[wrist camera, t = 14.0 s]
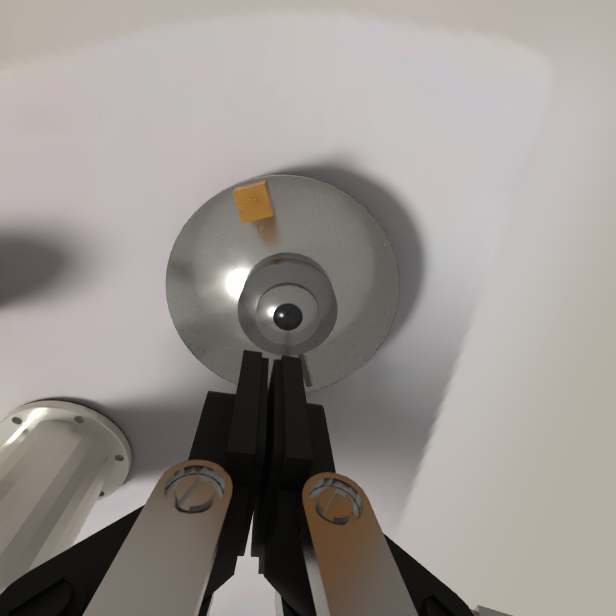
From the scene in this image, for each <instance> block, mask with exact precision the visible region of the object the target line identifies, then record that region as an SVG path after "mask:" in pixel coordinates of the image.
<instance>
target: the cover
mask: <svg viewBox="0 0 616 616" xmlns="http://www.w3.org/2000/svg"><path fill="white" fill-rule="evenodd" d="M237 313H238V319H239V323H240V326H241V328H242V330H243V332H244V333H245V335H246V336H247V337H248V339H249V340H250V341H251V342H252V343H253V344H255V345H256V346H257V347H259V348H261V349H262V350H264V351H267V352H269V353H272V354H276V355H284V356H292V355H299V354H303V353H306V352H308V351H311V350H313V349H314V348H316V347H318V346H319V345H320V344H322V343H323V342H324V341H325V340H326V339H327V337H328V336H329V335H330V333H331V332H332V330H333V328H334V326H335V323H336V320H337V313H338V306H337V300H336V297H335V293H334V290H333V287H332V284H331V281H330V279H329V277H328V275H327V273H326V272H325V270H324V269H323V268H322V267H321V266H320V265H319V264H318V263H317V262H316V261H314V260H313V259H311V258H309V257H307V256H304V255H301V254H297V253H289V252H286V253H278V254H274V255H271V256H268V257H266V258H264V259H263V260H261V261H259V262H258V263H257V264H256V265H255V266H254V267H253V268H252V269H251V270H250V272H249V273H248V275H247V277H246V279H245V282H244V285H243V288H242V291H241V294H240V297H239V300H238V307H237Z"/></svg>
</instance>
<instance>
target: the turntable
mask: <svg viewBox="0 0 616 616" xmlns="http://www.w3.org/2000/svg"><path fill="white" fill-rule="evenodd" d="M286 252H289V253H297V254H301V255H304V256H307V257H309V258H311V259H313V260H314V261H316V262H317V263H318V264H319V265H320V266H321V267H322V268H323V269H324V270H325V272H326V273H327V275H328V277H329V279H330V281H331V284H332V287H333V290H334V293H335V297H336V300H337V306H338V313H337V320H336V323H335V326H334V328H333V330H332V332H331V333H330V335H329V336H328V337H327V339H326V340H325V341H324V342H323V343H322V344H320V345H319V346H318V347H316V348H314V349H313V350H311V351H308V352H306V353H303V354H299V355H292V356H291V357H298V358H301V363H302V371H303V379H304V387H305V392H306V391H312V390H315V389H319V388H322V387H325V386H328V385H330V384H333V383H335V382H337V381H339V380H341V379H343V378H345V377H346V376H348V375H350V374H351V373H352V372H354V371H355V370H357V369H358V368H359V367H361V366H362V365H363V364H364V363H365V362H366V361H367V360H368V359H369V358H370V357H371V356H372V355H373V354H374V353H375V352H376V350H377V349H378V348H379V346H380V345H381V343H382V342H383V341H384V339H385V337H386V336H387V334H388V332H389V330H390V328H391V326H392V323H393V320H394V317H395V314H396V310H397V306H398V301H399V289H400V282H399V270H398V266H397V261H396V257H395V254H394V251H393V248H392V246H391V243H390V241H389V239H388V238H387V236H386V234H385V232H384V230H383V229H382V227H381V226H380V225H379V223H378V222H377V221H376V219H375V218H374V217H373V216H372V215H371V214H370V213H369V212H368V211H367V210H366V209H365V208H364V207H363V206H362V205H361V204H360V203H359V202H357V201H356V200H355V199H353V198H352V197H351V196H349V195H348V194H347V193H345V192H343V191H341V190H340V189H338V188H336V187H334V186H332V185H330V184H327V183H325V182H322V181H320V180H316V179H312V178H308V177H304V176H297V175H287V174H284V175H267V176H261V177H256V178H252V179H249V180H245V181H242V182H239V183H237V184H235V185H233V186H231V187H229V188H227V189H225V190H223V191H221V192H220V193H218V194H217V195H216V196H214V197H213V198H211V199H210V200H208V201H207V202H206V203H205V204H204V205H202V206H201V207H200V208H199V209H198V210H197V211H196V212H195V213H194V214H193V215H192V217H191V218H190V219H189V220H188V221H187V223H186V224H185V225H184V227H183V228H182V230H181V232H180V234H179V235H178V237H177V239H176V241H175V243H174V246H173V248H172V251H171V253H170V257H169V262H168V266H167V273H166V297H167V302H168V307H169V312H170V315H171V318H172V320H173V323H174V326H175V328H176V330H177V332H178V334H179V335H180V337H181V339H182V340H183V342H184V343H185V345H186V346H187V348H188V349H189V350H190V351H191V352H192V353H193V355H194V356H195V357H196V358H197V359H198V360H199V361H200V362H201V363H203V364H204V365H205V366H206V367H207V368H208V369H210V370H211V371H213V372H214V373H216V374H217V375H218V376H220V377H222V378H224V379H226V380H228V381H230V382H231V383H234V384H237V385H238V381H239V375H240V369H241V363H242V357H243V351H244V350H250V351H257V352H262V357H264V358H269V368H268V387H269V382H270V377H271V372H272V367H273V362H274V359H278V360H281V357H282V355H276V354H272V353H269V352H267V351H264V350H262V349H261V348H259V347H257V346H256V345H255V344H253V343H252V342H251V341H250V340H249V339H248V337H247V336H246V335H245V333H244V332H243V330H242V328H241V326H240V323H239V319H238V313H237V307H238V300H239V297H240V294H241V291H242V288H243V285H244V282H245V279H246V277H247V275H248V273H249V272H250V270H251V269H252V268H253V267H254V266H255V265H256V264H257V263H258V262H259V261H261V260H263V259H264V258H266V257H268V256H271V255H274V254H278V253H286Z"/></svg>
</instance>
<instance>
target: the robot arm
mask: <svg viewBox="0 0 616 616" xmlns="http://www.w3.org/2000/svg"><path fill="white" fill-rule="evenodd" d="M268 368H269V358H264V357H262V352H257V351H250V350H244V351H243V357H242V363H241V369H240V375H239V381H238V387H237V393H236V394H229V393H221V392H213V391H208V394H207V397H206V400H205V404H204V407H203V411H202V414H201V418H200V421H199V425H198V428H197V431H196V435H195V438H194V442H193V445H192V449H191V452H190V456H189V459H188V461H184V462H182V463H179V464H176V465H174V466H173V467H171V468H170V469H169V470H167V471H166V472H165V473H164V474H163V475H162V477H161V478H160V479H159V481H158V483H157V484H156V486H155V488H154V490H153V491H152V493H151V495H150V497H149V498H148V500H147V502H146V504H145V505H144V506H142V507H140V508H138V509H137V510H135V511H133V512H131V513H130V514H128V515H126V516H124V517H123V518H121V519H119V520H117V521H116V522H114V523H112V524H110V525H109V526H107V527H105V528H104V529H102V530H100V531H98V532H97V533H95V534H93V535H91V536H90V537H88V538H86V539H84V540H83V541H81V542H79V543H77V544H76V545H74V546H72V545H73V543H74V541H75V539H76V537H77V536H78V534H79V532H80V530H81V528H82V526H83V524H84V522H85V521H86V519H87V517H88V515H89V513H90V511H91V509H92V507H93V506H94V504H95V502H96V501H97V500H100V499H103V498H105V497H107V496H109V495H111V494H112V493H114V492H115V491H116V490H117V489H118V488H120V486H121V485H122V484H123V482H124V481H125V479H126V477H127V475H128V473H129V471H130V467H131V463H132V453H131V449H130V446H129V443H128V441H127V440H126V438H125V436H124V434H123V433H122V432H121V431H120V430H119V428H118V427H117V426H116V425H115V424H113V423H112V422H111V421H110V420H109V419H108V418H106V417H104V416H103V415H101V414H99V413H98V412H96V411H94V410H92V409H89V408H87V407H85V406H81V405H78V404H74V403H71V402H64V401H38V402H33V403H29V404H26V405H23V406H20V407H18V408H17V409H15V410H13V411H12V412H10V413H9V414H8V415H7V416H6V417H5V418H4V419H3V420H2V421H1V422H0V616H209V612H210V609H211V605H212V601H213V596H214V592H215V591H216V590H217V589H218V588H219V587H220V586H221V585H223V584H224V583H225V582H226V581H227V580H228V579H229V578H230V577H232V576H233V575H234V571H235V566H236V562H237V557H238V556H244V553H245V548H246V544H247V539H248V534H249V530H250V525H251V520H252V516H253V527H252V543H251V557H259V572H258V574H264V577H265V578H266V579H267V580H268V581H269V583H270V584H271V585H272V586H273V587H274V588H275V589H276V590H275V609H276V616H512V615H508V614H505V613H502V612H499V611H495V610H492V609H489V608H486V607H482V606H479V605H477V607H476V609H475V610H472V609H469V607H468V606H467V605H466V603H465V602H464V601H463V600H462V599H461V598H460V597H458V595H457V594H456V593H454V592H453V591H452V590H451V589H450V588H448V587H447V586H446V585H445V584H444V583H442V582H441V581H440V580H439V579H437V578H436V577H435V576H434V575H432V574H431V573H430V572H429V571H428V570H427V569H426V568H424V567H423V566H422V565H421V564H420V563H418V562H417V561H416V560H415V559H414V558H412V557H411V556H410V555H409V554H408V553H406V552H405V551H404V550H403V549H402V548H400V547H399V546H398V545H397V544H396V543H394V542H393V541H392V540H391V539H390V538H388V537H387V536H386V535H385V534H384V533H383V532H382V530H381V527H380V525H379V523H378V520H377V518H376V516H375V513H374V511H373V509H372V507H371V504H370V502H369V500H368V498H367V496H366V494H365V493H364V491H363V489H362V488H361V487H360V486H359V485H358V484H357V483H356V482H354V481H352V480H351V479H349V478H348V477H346V476H343V475H340V474H337V473H336V471H335V466H334V461H333V455H332V450H331V445H330V439H329V434H328V429H327V423H326V418H325V413H324V408H323V406H322V405H316V404H308V403H306V396H305V387H304V379H303V371H302V363H301V358H298V357H291V356H284V355H282V357H281V360H278V359H274V362H273V367H272V372H271V377H270V382H269V387H268ZM253 511H254V512H253Z"/></svg>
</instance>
